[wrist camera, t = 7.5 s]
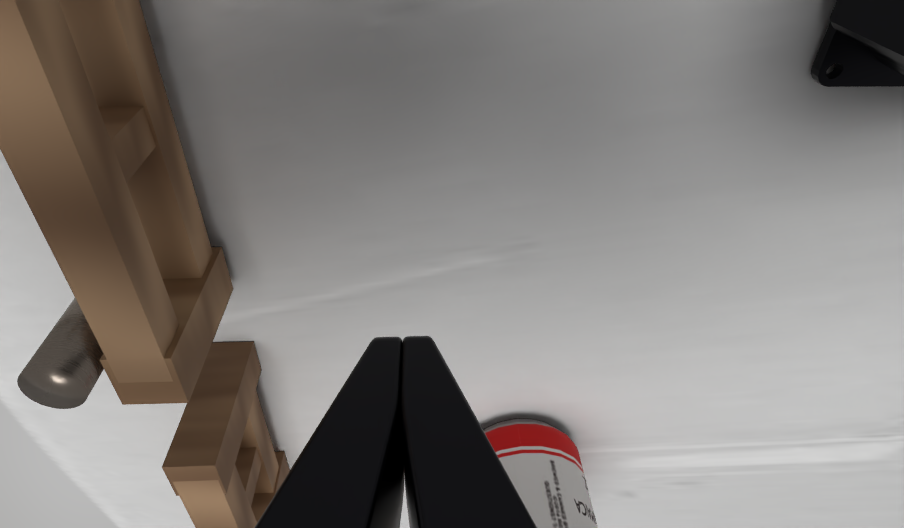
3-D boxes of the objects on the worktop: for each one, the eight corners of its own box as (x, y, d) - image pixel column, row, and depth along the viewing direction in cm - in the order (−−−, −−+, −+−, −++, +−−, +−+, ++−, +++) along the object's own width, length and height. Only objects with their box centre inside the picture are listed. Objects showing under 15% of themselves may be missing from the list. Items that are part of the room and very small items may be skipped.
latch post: (168, 219, 21) (87, 350, 16) (190, 283, 23) (123, 419, 17) (83, 220, 21) (-28, 353, 15) (112, 284, 22) (22, 422, 17)
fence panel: (210, 342, 25) (161, 467, 20) (253, 341, 25) (214, 465, 20) (255, 472, 31) (226, 591, 26) (289, 471, 31) (266, 590, 26)
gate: (1, -219, 13) (-211, -241, 9) (92, -217, 13) (-70, -236, 9) (180, 289, 22) (122, 404, 18) (233, 288, 22) (188, 402, 18)
